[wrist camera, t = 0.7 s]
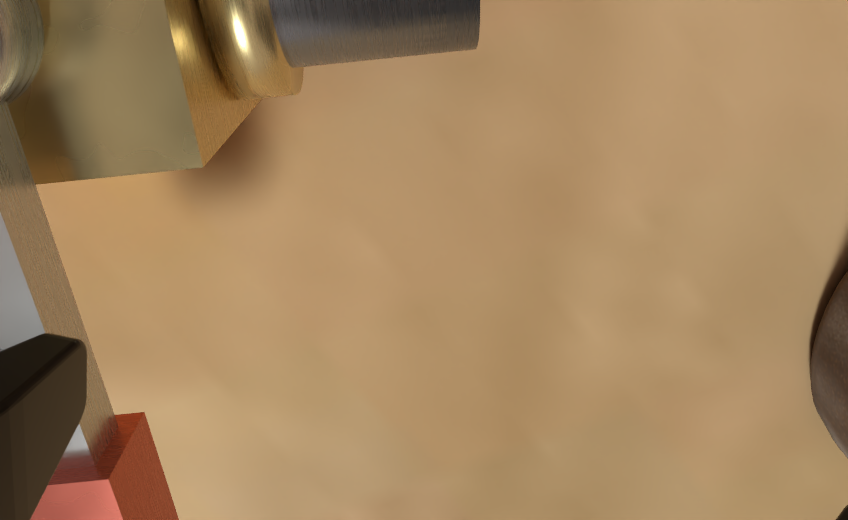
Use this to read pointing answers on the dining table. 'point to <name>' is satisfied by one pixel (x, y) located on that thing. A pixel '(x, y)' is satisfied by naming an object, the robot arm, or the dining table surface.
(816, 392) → the plant pot
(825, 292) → the dining table surface
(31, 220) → the valve lever
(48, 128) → the valve body
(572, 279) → the dining table surface
